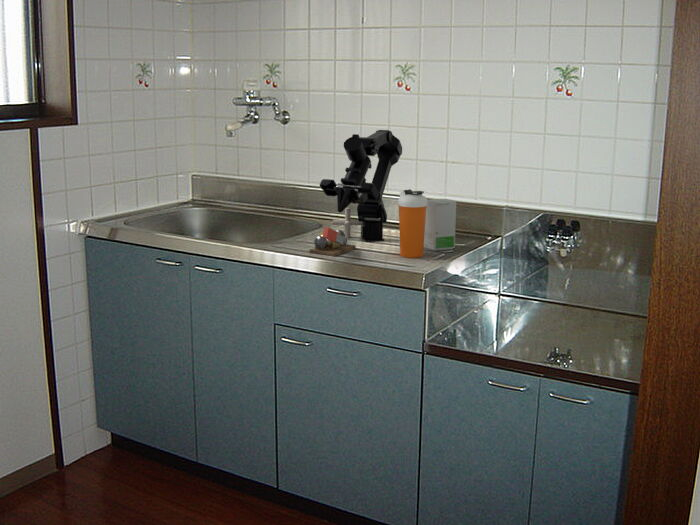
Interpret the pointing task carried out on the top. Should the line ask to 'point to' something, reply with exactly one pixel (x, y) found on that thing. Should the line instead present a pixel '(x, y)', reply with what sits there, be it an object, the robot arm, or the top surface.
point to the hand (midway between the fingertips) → (339, 211)
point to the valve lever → (334, 236)
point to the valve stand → (330, 246)
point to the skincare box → (440, 224)
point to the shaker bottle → (412, 223)
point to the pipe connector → (347, 222)
